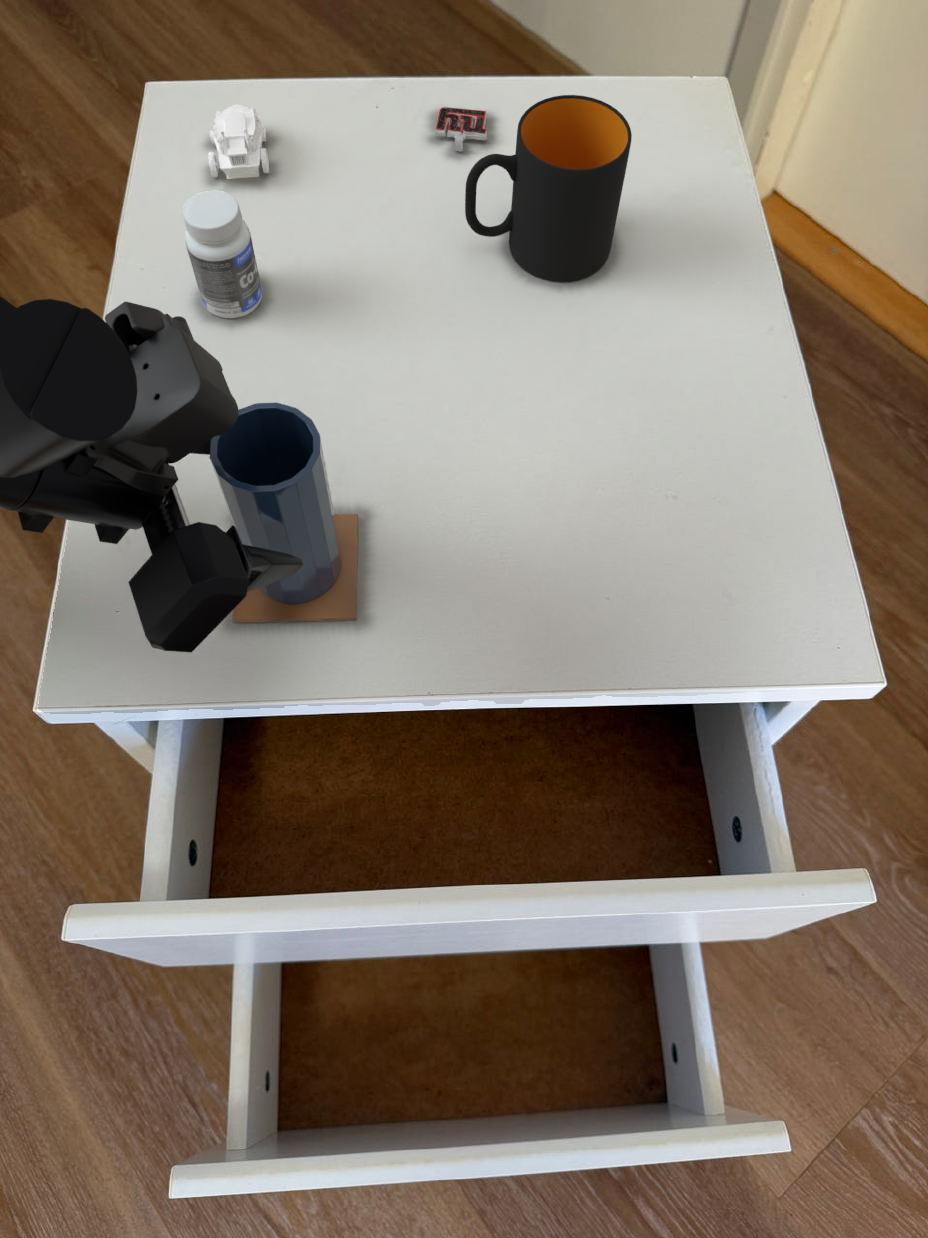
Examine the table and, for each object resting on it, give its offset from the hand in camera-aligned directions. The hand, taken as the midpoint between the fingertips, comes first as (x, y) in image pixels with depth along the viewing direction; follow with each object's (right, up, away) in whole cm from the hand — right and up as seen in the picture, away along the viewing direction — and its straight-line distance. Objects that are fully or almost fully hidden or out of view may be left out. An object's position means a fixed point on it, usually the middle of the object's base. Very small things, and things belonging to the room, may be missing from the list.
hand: (273, 505), depth 59 cm
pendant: (+11, +35, +27) cm, 46 cm away
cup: (0, -3, +7) cm, 7 cm away
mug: (+17, +23, +21) cm, 36 cm away
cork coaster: (0, -3, +7) cm, 8 cm away
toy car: (-8, +33, +25) cm, 42 cm away
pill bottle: (-7, +18, +18) cm, 26 cm away
